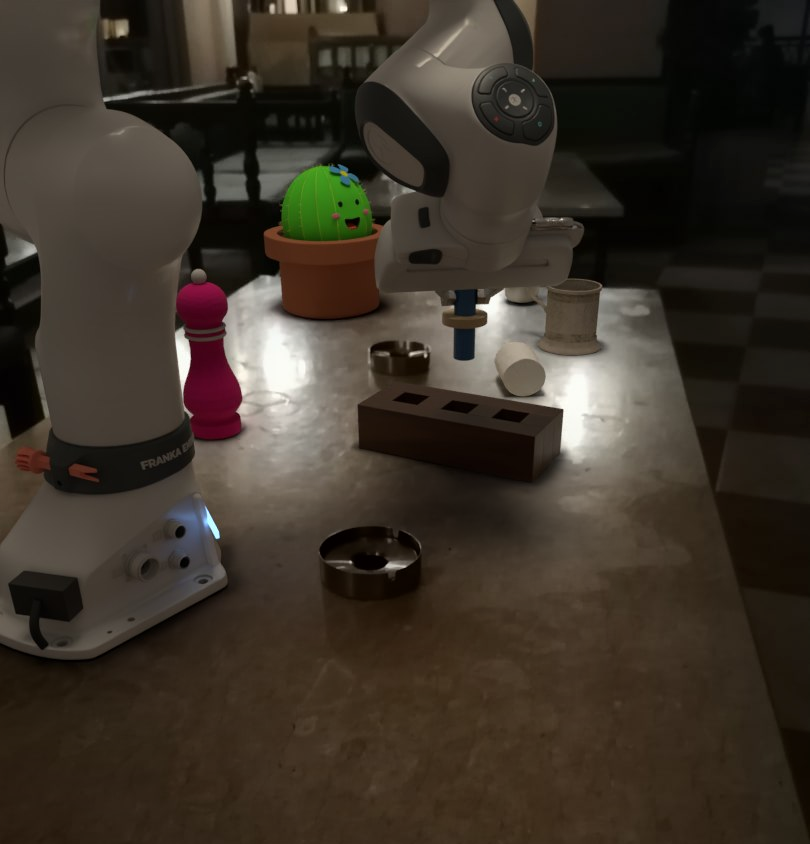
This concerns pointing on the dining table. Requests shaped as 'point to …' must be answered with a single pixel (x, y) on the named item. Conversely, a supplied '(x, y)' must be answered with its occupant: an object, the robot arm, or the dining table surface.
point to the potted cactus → (326, 246)
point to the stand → (461, 430)
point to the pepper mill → (208, 361)
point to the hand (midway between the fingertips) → (463, 299)
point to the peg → (464, 323)
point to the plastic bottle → (522, 292)
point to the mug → (571, 317)
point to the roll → (519, 369)
